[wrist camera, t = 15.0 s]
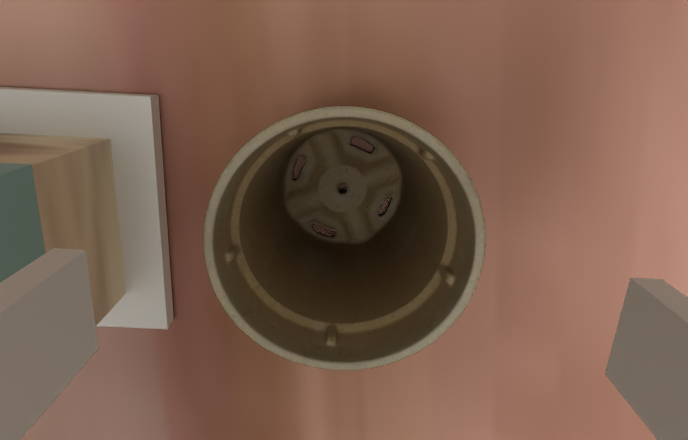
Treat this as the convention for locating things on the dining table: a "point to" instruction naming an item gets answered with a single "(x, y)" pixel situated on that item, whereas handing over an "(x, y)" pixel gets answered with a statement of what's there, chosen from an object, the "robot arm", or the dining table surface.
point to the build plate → (130, 183)
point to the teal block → (18, 219)
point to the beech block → (76, 204)
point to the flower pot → (344, 239)
